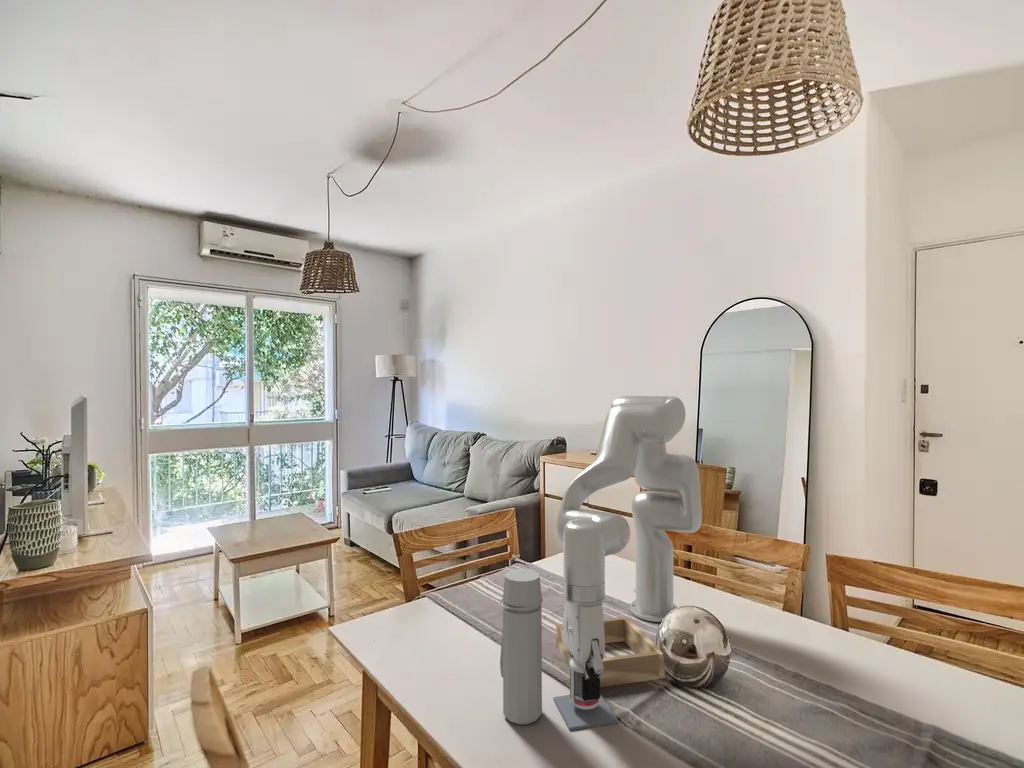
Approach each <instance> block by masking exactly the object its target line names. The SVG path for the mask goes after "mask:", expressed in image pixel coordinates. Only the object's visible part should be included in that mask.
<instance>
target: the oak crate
mask: <svg viewBox="0 0 1024 768" xmlns="http://www.w3.org/2000/svg"><path fill="white" fill-rule="evenodd" d="M555 626H556V627H555V628H556V629H555V630H556V633H555V634H556V637H555V639H556V641H555V642H556V643H555V645H556V646H555V647H556V648H557V650H558V652H559V653H560V655H561V656H562V658H563V660H564V661H565V663H566V664H567V666H568V667H569V665H570V659H571V657H570V650H569V649H568V647H567V646H566V644H565V643H564V640H563V623H557V624H555ZM604 632H605V644H612V643H619V642H621V643H622V642H624V643H625V644H626V645H627V646H628V647H630V649H631V650H632V651H633V652H634V653H633V654H632V653H630V654H625V655H623V654H622V655H615V656H608V657H604V659H603V660H602V663H603V667H604V671H603V672H602V673H601V678H600V688H605V687H612V686H618V685H627V684H634V683H639V682H646V681H647V682H648V681H655V680H664V679H666V675H665V674H666V673H665V669H666V666H665V665H666V663H664V657H663V653H662V652H661V651H660V650H659V649H658V648H659V647H658V645H656V644H655V642H654V641H652V640H651V639H650V638H649V637H648V635H647V634H646V633H644V632H643V631H642V630H641V629H640V628H639V627H638V626H637V625H636V624H635V623H634V622H633V621H631V619H630V618H629V617H627V616H621V617H613V618H605V619H604Z"/></svg>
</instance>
